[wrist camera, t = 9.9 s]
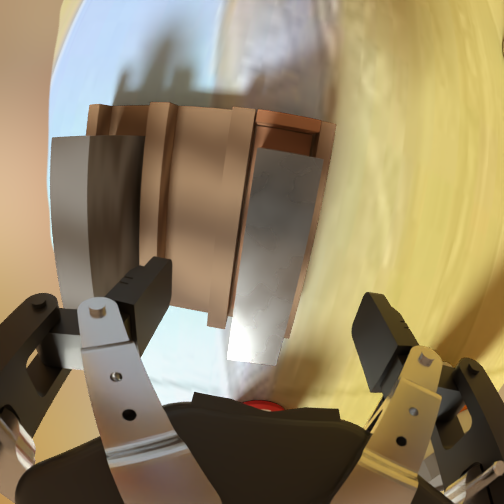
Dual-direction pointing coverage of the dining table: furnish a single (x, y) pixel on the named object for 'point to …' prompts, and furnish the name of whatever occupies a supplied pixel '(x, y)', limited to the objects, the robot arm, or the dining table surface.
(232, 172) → the rack
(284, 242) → the panel
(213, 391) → the dining table surface
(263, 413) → the robot arm
